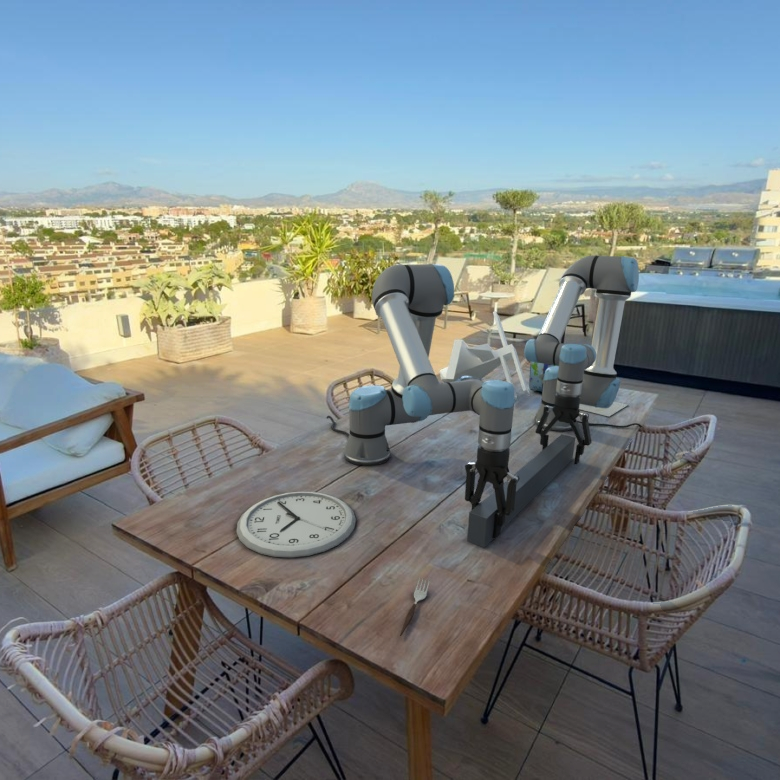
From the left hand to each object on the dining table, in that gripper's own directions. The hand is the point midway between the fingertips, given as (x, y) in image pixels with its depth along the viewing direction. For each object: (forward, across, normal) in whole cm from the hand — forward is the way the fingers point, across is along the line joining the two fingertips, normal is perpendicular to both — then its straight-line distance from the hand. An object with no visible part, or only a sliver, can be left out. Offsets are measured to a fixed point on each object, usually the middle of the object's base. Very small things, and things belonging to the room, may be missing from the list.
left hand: (486, 531), depth 131 cm
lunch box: (+1, -33, +131) cm, 135 cm away
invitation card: (+1, -6, +120) cm, 120 cm away
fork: (+1, +1, -34) cm, 34 cm away
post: (+1, 0, +26) cm, 26 cm away
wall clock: (+1, -41, -26) cm, 48 cm away
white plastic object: (+1, -56, +105) cm, 119 cm away
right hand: (-1, 0, +52) cm, 52 cm away
